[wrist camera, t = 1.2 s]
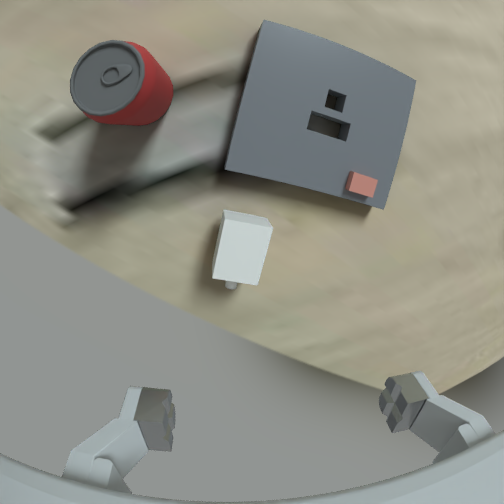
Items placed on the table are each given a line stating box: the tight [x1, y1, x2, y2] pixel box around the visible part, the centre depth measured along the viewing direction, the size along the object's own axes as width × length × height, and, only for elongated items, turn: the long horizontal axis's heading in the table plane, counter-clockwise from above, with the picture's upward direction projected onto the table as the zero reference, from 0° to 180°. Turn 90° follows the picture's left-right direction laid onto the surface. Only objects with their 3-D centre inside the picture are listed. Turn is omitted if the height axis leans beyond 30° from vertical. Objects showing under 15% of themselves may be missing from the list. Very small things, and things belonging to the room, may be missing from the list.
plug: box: [212, 209, 273, 289], centre depth 32 cm, size 4×8×6 cm, turn 167°
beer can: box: [70, 40, 173, 126], centre depth 22 cm, size 7×7×12 cm
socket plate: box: [224, 20, 416, 210], centre depth 28 cm, size 18×16×4 cm
